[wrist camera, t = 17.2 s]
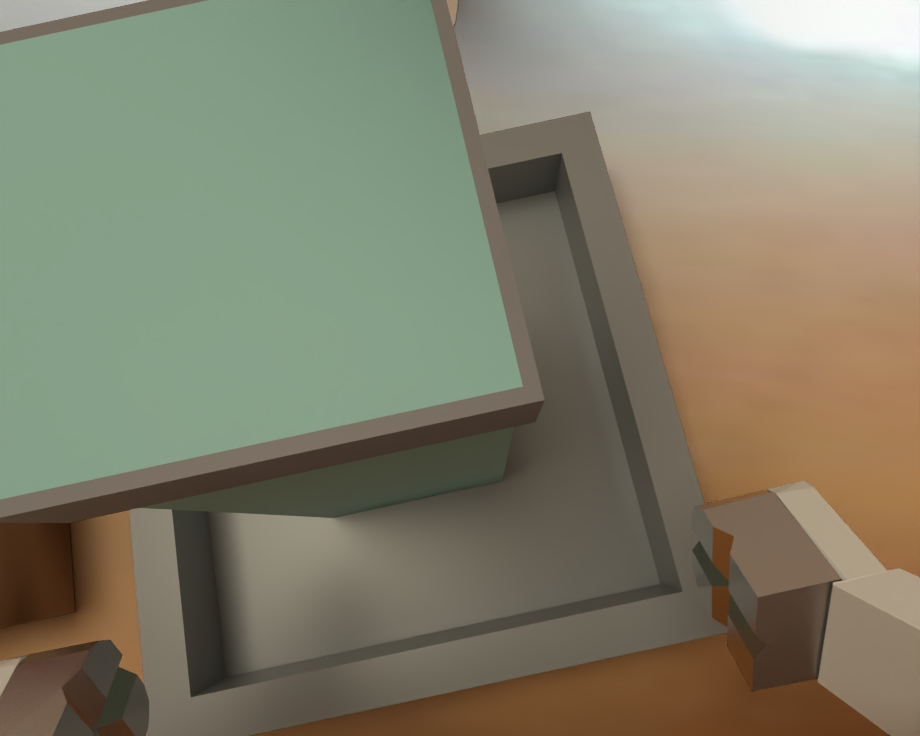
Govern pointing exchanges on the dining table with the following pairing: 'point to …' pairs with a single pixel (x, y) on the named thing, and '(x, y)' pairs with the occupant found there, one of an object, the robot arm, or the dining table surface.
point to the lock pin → (249, 264)
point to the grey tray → (457, 513)
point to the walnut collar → (35, 572)
